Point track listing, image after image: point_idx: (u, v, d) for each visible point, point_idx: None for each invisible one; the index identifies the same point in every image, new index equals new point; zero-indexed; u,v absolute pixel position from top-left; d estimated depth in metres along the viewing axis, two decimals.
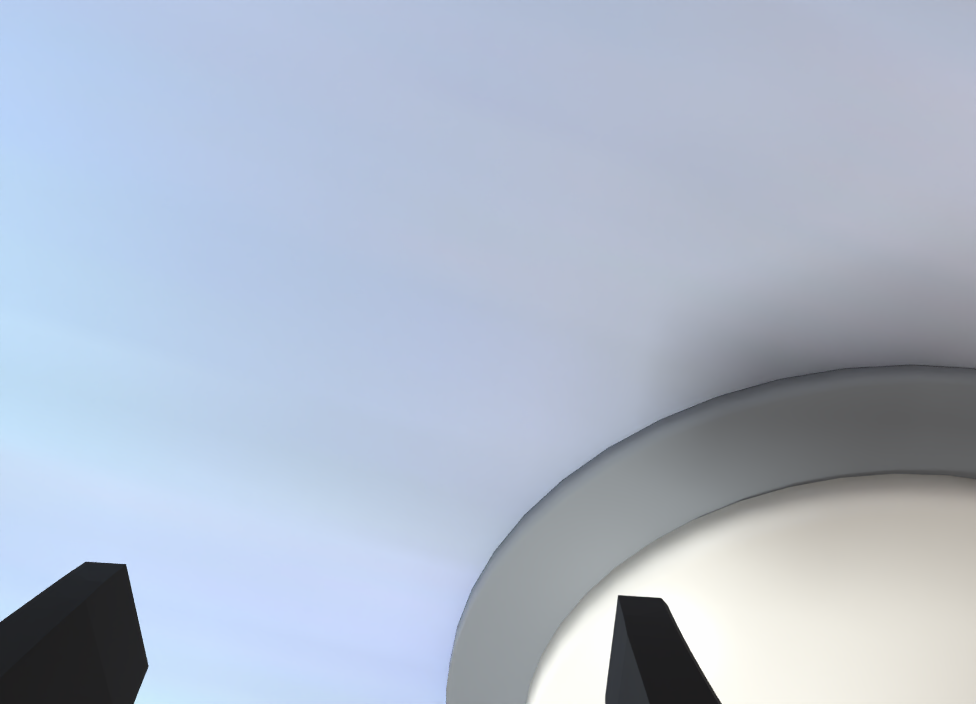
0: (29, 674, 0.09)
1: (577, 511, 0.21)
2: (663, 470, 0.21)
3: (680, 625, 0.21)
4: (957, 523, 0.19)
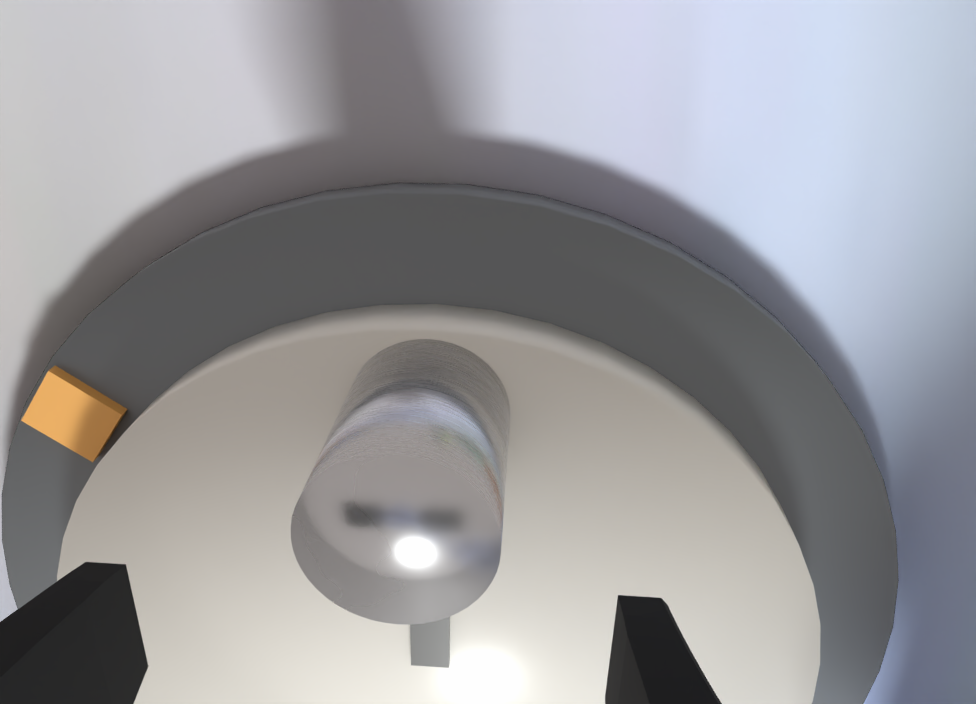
0: (29, 674, 0.09)
1: None
2: None
3: None
4: None
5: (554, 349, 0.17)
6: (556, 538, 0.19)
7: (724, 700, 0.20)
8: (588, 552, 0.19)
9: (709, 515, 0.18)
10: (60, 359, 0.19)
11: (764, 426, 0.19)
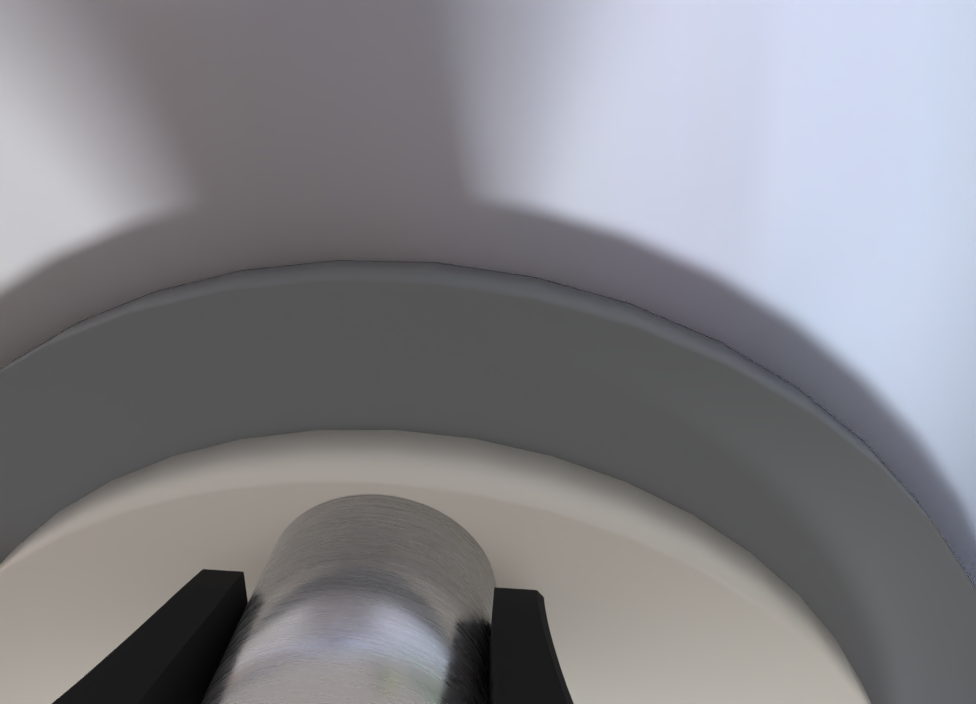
0: (171, 684, 0.09)
1: None
2: None
3: None
4: None
5: (559, 507, 0.12)
6: None
7: None
8: None
9: None
10: None
11: (845, 586, 0.14)
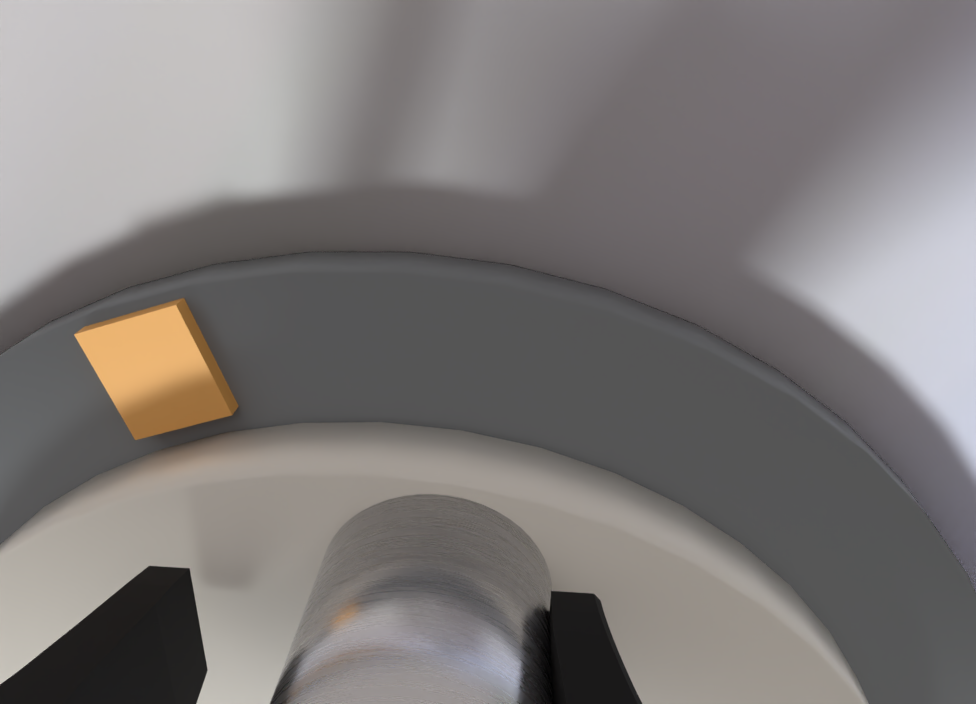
0: (106, 679, 0.09)
1: None
2: None
3: None
4: None
5: (628, 525, 0.12)
6: None
7: None
8: None
9: None
10: (199, 296, 0.12)
11: None
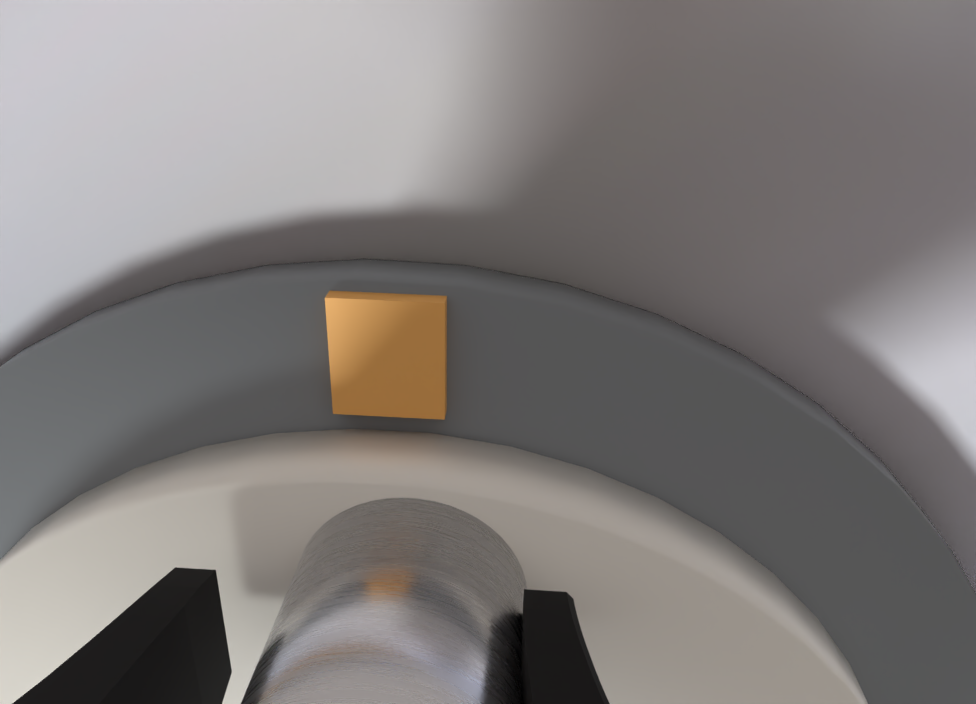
0: (138, 682, 0.09)
1: None
2: None
3: None
4: None
5: (598, 520, 0.12)
6: None
7: None
8: None
9: None
10: (462, 299, 0.12)
11: None
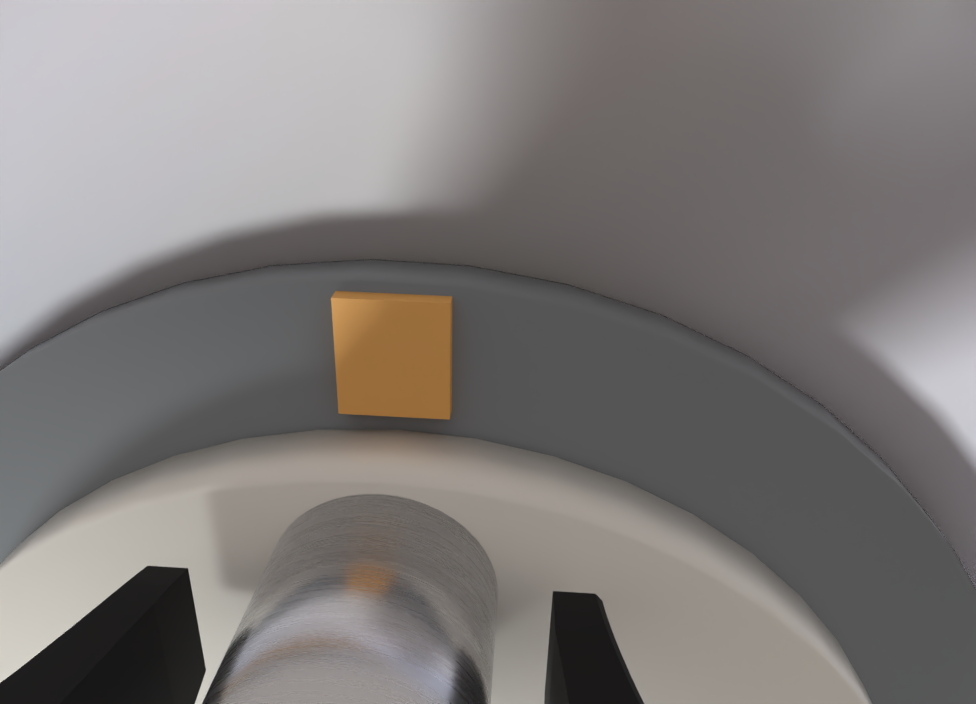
0: (104, 679, 0.09)
1: None
2: None
3: None
4: None
5: (561, 507, 0.12)
6: None
7: None
8: None
9: None
10: (468, 299, 0.12)
11: None
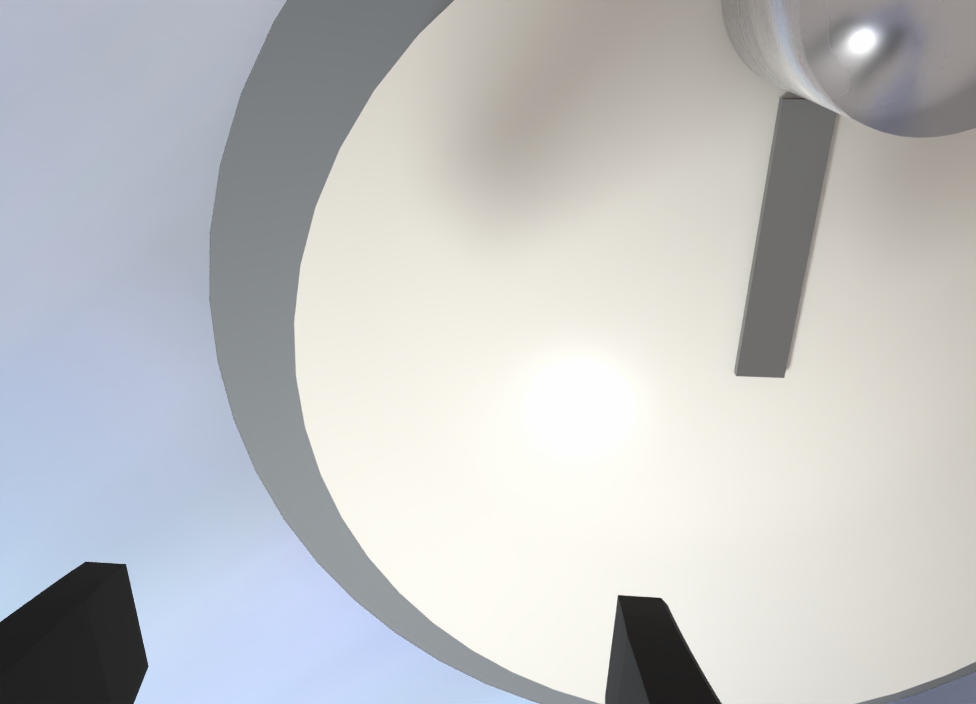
0: (29, 674, 0.09)
1: (251, 414, 0.20)
2: (245, 320, 0.19)
3: (558, 643, 0.20)
4: (341, 481, 0.18)
5: None
6: (957, 177, 0.15)
7: None
8: None
9: None
10: None
11: None
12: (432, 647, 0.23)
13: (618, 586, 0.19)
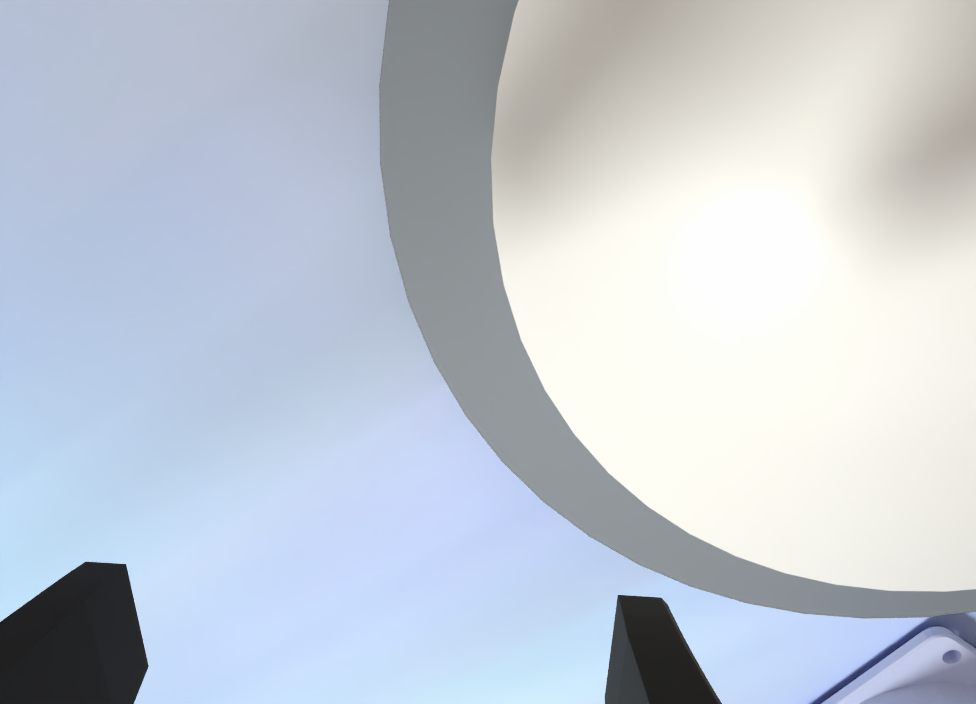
0: (29, 674, 0.09)
1: (411, 231, 0.18)
2: (417, 112, 0.16)
3: (747, 498, 0.18)
4: (526, 294, 0.16)
5: None
6: None
7: None
8: None
9: None
10: None
11: None
12: (583, 520, 0.21)
13: (827, 427, 0.17)
